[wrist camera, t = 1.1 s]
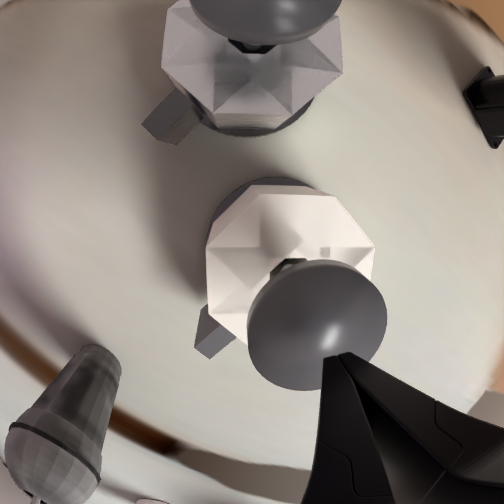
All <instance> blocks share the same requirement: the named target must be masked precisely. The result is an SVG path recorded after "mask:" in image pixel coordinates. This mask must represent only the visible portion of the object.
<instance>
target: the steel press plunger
mask: <svg viewBox="0 0 504 504" xmlns="http://www.w3.org/2000/svg"><path fill="white" fill-rule="evenodd" d="M341 1H342V0H189V2H190V5H191V7H192V10H193V11H194V13H195V15H196V16H197V17H198V18H199V20H200V21H201V22H202V23H204V24H205V25H206V26H207V27H208V28H210V29H211V30H213V31H214V32H216V33H218V34H220V35H222V36H225V37H227V38H230V39H232V40H236V41H239V42H243V45H244V46H245V47H246V48H248V49H251V50H255V49H258V48H260V47H261V46H262V45H282V44H288V43H293V42H297V41H300V40H303V39H305V38H308V37H310V36H312V35H313V34H315V33H317V32H318V31H319V30H321V29H322V28H323V27H324V26H325V25H326V24H327V22H328V21H329V20H330V18H331V17H332V16H333V15H334V13H335V12H336V11H337V9H338V7H339V6H340V4H341Z"/></svg>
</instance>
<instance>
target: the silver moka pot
mask: <svg viewBox="0 0 504 504" xmlns="http://www.w3.org/2000/svg"><path fill="white" fill-rule="evenodd" d="M161 68H162V69H163V70H164V72H165V73H166V74H167V76H168V77H169V78H170V80H171V81H172V82H173V84H174V85H175V86H176V87H177V88H176V89H175V90H174V91H173V92H172V93H171V94H170V95H169V96H168V97H167V98H166V99H165V100H164V101H163V102H162V103H161V104H160V105H159V106H158V107H157V108H156V109H155V110H154V111H153V112H152V113H151V114H150V115H149V116H148V117H147V118H146V119H145V121H144V122H143V123H142V124H141V125H143V126H144V127H145V128H146V129H147V130H148V131H149V132H150V133H151V134H152V135H153V136H154V137H155V138H156V139H157V140H160V141H163V142H166V143H170V144H173V145H177V144H178V143H179V142H180V141H181V140H182V139H183V138H184V137H185V136H186V135H187V134H188V133H189V132H190V131H191V130H192V129H193V128H194V127H195V126H196V125H197V124H198V123H199V122H201V123H202V124H204V125H205V126H207V127H209V128H210V129H212V130H215V131H217V132H219V133H222V134H226V135H230V136H235V137H245V138H247V137H259V136H265V135H269V134H272V133H275V132H277V131H280V130H282V129H284V128H285V127H287V126H289V125H290V124H292V123H293V122H294V121H296V120H297V119H298V118H299V117H300V116H301V115H302V114H303V113H304V112H305V111H306V110H307V109H308V107H309V106H310V104H311V103H312V101H313V99H314V97H315V96H316V95H317V94H318V93H319V92H321V91H322V90H323V89H324V88H325V87H327V86H328V85H329V84H330V83H332V82H333V81H334V80H335V79H336V78H338V77H339V76H340V75H341V74H343V64H342V47H341V33H340V22H339V16H338V15H337V14H336V13H334V15H333V16H332V17H331V18H330V20H329V21H328V22H327V24H326V25H325V26H324V27H323V28H322V29H321V30H319V31H318V32H317V33H315V34H313V35H312V36H310V37H308V38H305V39H303V40H300V41H297V42H293V43H288V44H282V45H262V46H261V47H260V48H258V49H255V50H251V49H248V48H246V47H245V46H244V45H243V42H239V41H236V40H232V39H230V38H227V37H225V36H222V35H220V34H218V33H216V32H214V31H213V30H211V29H210V28H208V27H207V26H206V25H205V24H204V23H202V22H201V21H200V20H199V18H198V17H197V16H196V15H195V13H194V11H193V10H192V7H191V5H190V2H189V0H179V1H178V2H176V3H175V4H173V5H172V6H171V7H170V8H168V9H167V17H166V24H165V32H164V41H163V51H162V62H161Z"/></svg>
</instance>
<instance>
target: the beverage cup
mask: <svg viewBox="0 0 504 504" xmlns="http://www.w3.org/2000/svg"><path fill="white" fill-rule="evenodd" d="M120 376H121V366H120V363H119V361H118V360H117V359H116V357H115V356H114V355H113V354H112V353H111V352H109V351H108V350H106V349H104V348H103V347H100V346H97V345H87V346H84V347H83V348H82V349H81V350H80V351H79V352H78V353H77V354H76V355H75V356H74V357H73V358H72V359H71V360H70V361H69V362H68V364H67V365H66V366H65V367H64V368H63V369H62V370H61V372H60V373H59V374H58V375H57V376H56V378H55V379H54V380H53V381H52V382H51V384H50V385H49V386H48V387H47V388H46V390H45V391H44V392H43V393H42V394H41V396H40V397H39V398H38V399H37V401H36V402H35V403H34V404H33V406H32V407H31V408H29V409H27V410H26V411H25V412H24V413H23V414H22V415H21V416H20V417H19V418H18V419H17V421H16V422H12V424H11V425H10V427H9V433H8V435H7V437H6V441H5V450H4V452H5V460H6V464H7V467H8V470H9V472H10V475H11V477H12V478H13V480H14V482H15V483H16V484H17V486H18V487H19V488H20V489H21V491H22V492H23V493H24V494H26V495H27V496H28V497H30V498H31V499H32V500H31V503H30V504H83V503H85V502H86V501H87V500H88V499H89V498H90V496H91V495H92V493H93V492H94V490H95V488H96V487H97V485H98V484H99V482H100V480H101V478H100V472H101V462H102V456H101V452H102V447H103V443H104V439H105V434H106V430H107V426H108V422H109V419H110V415H111V411H112V407H113V404H114V400H115V397H116V393H117V390H118V386H119V380H120Z"/></svg>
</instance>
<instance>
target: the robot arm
mask: <svg viewBox="0 0 504 504" xmlns="http://www.w3.org/2000/svg"><path fill="white" fill-rule="evenodd" d="M463 93H464V96H465V98H466V100H467V102H468V103H469V105H470V107H471V109H472V110H473V112H474V114H475V116H476V118H477V119H478V121H479V123H480V125H481V127H482V129H483V131H484V133H485V135H486V137H487V139H488V142H489V144H490V146H491V148H492V149H497V148H498V147H499V145H500V144H501V142H502V140H503V139H504V75H499V76H495V75H494V74H493V72H492V70H491V68H490V67H489V66H486V67H484V68H483V69H482V70H481V71H480V73H479V74H478V75H477V76H476V77H475V78H474V79H473V81H472V82H471V83H470V84H469V85H468V86H467V87H466V88H465V89H464V92H463ZM468 94H469V95H468ZM301 504H504V428H503V427H499V426H497V425H494V424H490V423H488V422H485V421H482V420H479V419H477V418H474V417H472V416H469V415H467V414H464V413H462V412H460V411H458V410H455V409H453V408H451V407H449V406H447V405H445V404H443V403H442V402H440V401H438V400H436V401H435V399H434V398H432V397H430V396H428V395H426V394H425V393H423V392H421V391H419V390H417V389H415V388H414V387H412V386H410V385H408V384H406V383H405V382H403V381H401V380H399V379H397V378H396V377H394V376H392V375H390V374H388V373H387V372H385V371H383V370H381V369H380V368H378V367H376V366H374V365H373V364H371V363H369V362H367V361H366V360H364V359H362V358H361V357H359V356H357V355H355V354H354V353H352V352H345V353H341V354H338V355H337V356H336V355H333V356H328V357H325V358H323V368H322V383H321V397H320V408H319V419H318V429H317V438H316V445H315V454H314V459H313V465H312V470H311V474H310V477H309V481H308V484H307V488H306V490H305V493H304V496H303V498H302V501H301Z"/></svg>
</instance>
